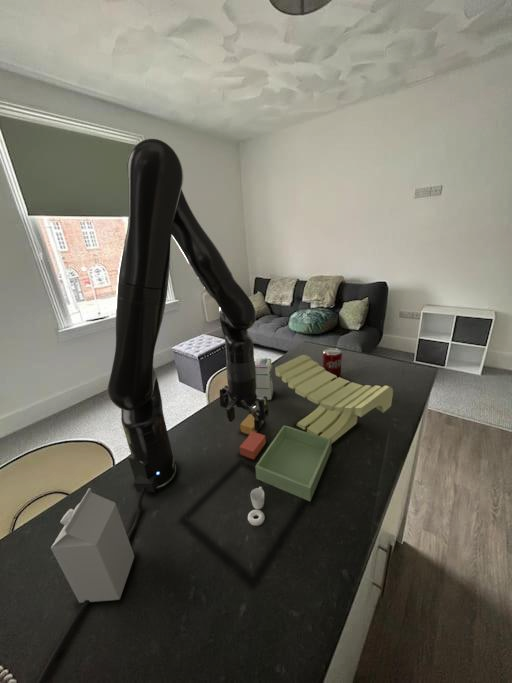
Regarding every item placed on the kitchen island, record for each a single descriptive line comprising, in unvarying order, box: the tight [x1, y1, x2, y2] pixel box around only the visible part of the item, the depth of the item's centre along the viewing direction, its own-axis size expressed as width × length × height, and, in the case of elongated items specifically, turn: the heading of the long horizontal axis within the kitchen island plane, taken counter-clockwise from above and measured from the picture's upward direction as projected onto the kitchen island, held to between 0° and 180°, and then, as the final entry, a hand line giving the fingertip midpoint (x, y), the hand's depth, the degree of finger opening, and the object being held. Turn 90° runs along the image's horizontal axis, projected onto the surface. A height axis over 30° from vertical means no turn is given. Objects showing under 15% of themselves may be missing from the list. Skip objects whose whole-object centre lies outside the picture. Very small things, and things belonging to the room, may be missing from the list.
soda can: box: [322, 347, 343, 378], centre depth 112 cm, size 7×7×12 cm
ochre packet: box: [239, 412, 265, 436], centre depth 88 cm, size 7×4×3 cm, turn 150°
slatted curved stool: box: [274, 354, 394, 445], centre depth 85 cm, size 30×16×18 cm, turn 39°
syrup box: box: [254, 357, 274, 401], centre depth 102 cm, size 6×6×14 cm
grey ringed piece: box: [247, 485, 266, 527], centre depth 63 cm, size 9×8×4 cm
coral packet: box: [239, 431, 267, 460], centre depth 79 cm, size 7×4×3 cm, turn 150°
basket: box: [254, 424, 332, 502], centre depth 73 cm, size 17×14×4 cm
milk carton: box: [50, 487, 135, 604], centre depth 48 cm, size 7×7×19 cm
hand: (244, 424), depth 78 cm, fingers open, 8 cm apart
